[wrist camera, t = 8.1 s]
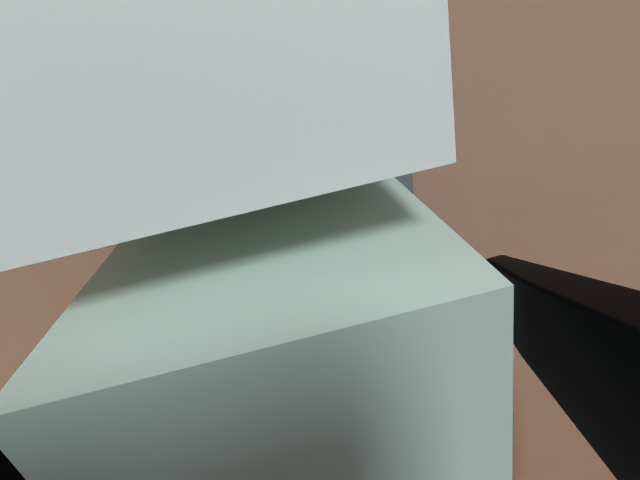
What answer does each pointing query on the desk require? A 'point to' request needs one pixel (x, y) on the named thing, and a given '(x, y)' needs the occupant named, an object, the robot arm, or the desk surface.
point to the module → (277, 353)
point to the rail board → (207, 111)
